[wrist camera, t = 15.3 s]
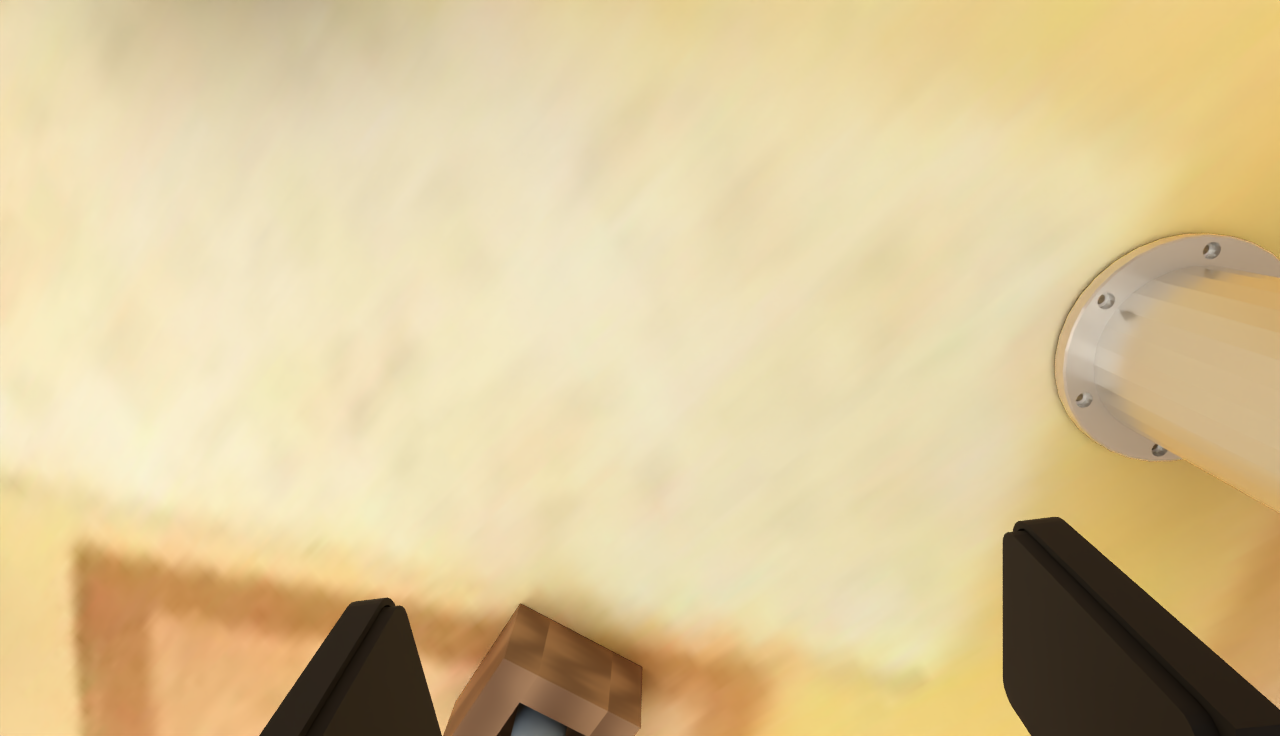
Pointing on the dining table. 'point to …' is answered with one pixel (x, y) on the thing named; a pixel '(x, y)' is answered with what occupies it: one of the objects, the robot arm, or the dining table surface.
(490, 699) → the box with hole
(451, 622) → the dining table surface
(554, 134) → the dining table surface
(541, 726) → the peg
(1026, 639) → the robot arm
